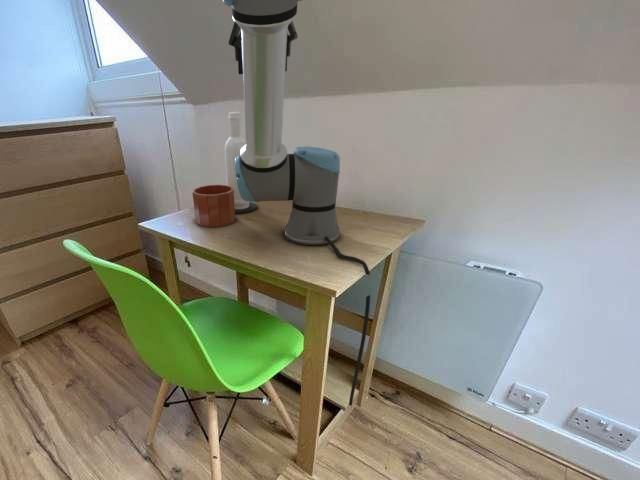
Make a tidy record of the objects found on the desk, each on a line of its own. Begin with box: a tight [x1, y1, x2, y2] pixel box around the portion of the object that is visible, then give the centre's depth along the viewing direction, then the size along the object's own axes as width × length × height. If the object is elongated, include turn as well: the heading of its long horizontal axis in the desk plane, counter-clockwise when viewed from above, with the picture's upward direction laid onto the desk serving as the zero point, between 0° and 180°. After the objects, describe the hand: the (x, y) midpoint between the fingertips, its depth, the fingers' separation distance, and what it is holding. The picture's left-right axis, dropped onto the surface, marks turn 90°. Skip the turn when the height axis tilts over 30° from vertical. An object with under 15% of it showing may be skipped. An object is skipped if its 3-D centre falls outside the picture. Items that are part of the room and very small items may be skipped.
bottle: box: [224, 111, 250, 210], centre depth 115 cm, size 8×8×30 cm
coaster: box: [235, 202, 258, 215], centre depth 123 cm, size 13×13×1 cm
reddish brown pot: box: [191, 184, 236, 228], centre depth 111 cm, size 13×13×10 cm
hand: (262, 72), depth 101 cm, fingers open, 13 cm apart
